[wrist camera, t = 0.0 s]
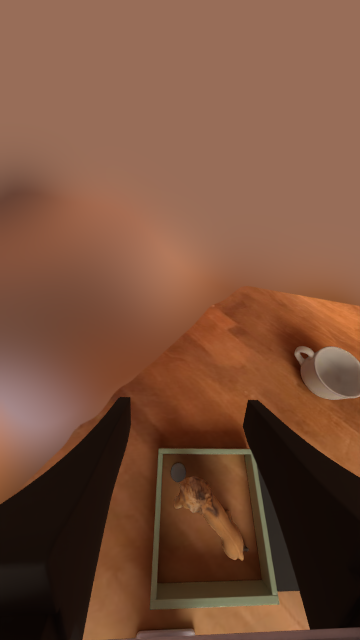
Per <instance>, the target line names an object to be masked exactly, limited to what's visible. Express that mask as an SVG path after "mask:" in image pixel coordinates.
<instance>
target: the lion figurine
mask: <svg viewBox="0 0 360 640" xmlns="http://www.w3.org/2000/svg"><path fill="white" fill-rule="evenodd" d="M179 484H180V489H181V490H180V493H179V495H178V496H176V497H175V499H174V507H175V508H176V509H179V508H181V507H182V506H183V507H184V508H188V509H189V510H191V512H192V513H194V512H197V513H199V514H201V515H203V516H204V518H205V520H206V521H207V523H208V524H209V525H210V526H211V527H212V529H213V530H214V531H215V532H216V533H217V534H218V535H219V536H220V537H221V538H222V547H223V550H224V552H225V553H226V555H227V556H228V557H230V558H231V559H232V560H236V559H237V558H239V559H240V560H242V561H243V560H244V555H243V551H246V552H247V551H248V550H249V549H248V548H247V547H246V546H244V545H243V539H242V536H241V533H240V531H239V529H238V528H237V526H236V525H235V524H234V523H233V521H232V518H231V514H230V512H229V511H228V510H226V511H224V509H223V507H222V505H221V504H220V502H219V501H218V500H217V499H216V498H215V497H214V495H213V493H212V490H211V487H210V485H209V484H208V483H207V482H205V480H204V479H201V478H198V477H196V476H194V477H192V476H191V477H190V478H189V477H187V478H185V479H184V480H182V481H181V482H180V483H179Z"/></svg>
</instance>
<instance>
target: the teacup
mask: <svg viewBox="0 0 360 640" xmlns="http://www.w3.org/2000/svg"><path fill="white" fill-rule="evenodd" d="M300 352H304V353H306V354H307V355H308V356H309V357H307V358H306V359H304V358H303V357H302V356H301V354H300ZM294 354H295V357H296V358H297V360H298V361H299V364H300V365H301V377H302V380H303V382H304V383H305V385H306V386H307V387H308V389H309V390H310V391H312V392H313V393H314V394H316V395H317V396H319V397H322V398H325V399H331V400H336V399H345V398H356V397H359V396H360V362H359V361H358V360H357V359H356V358H355V357H354V356H353V355H352V354H350V353H349V352H347V351H345V350H343V349H341V348H338V347H324V348H322V349H320V350H319V351H318V352H316V353H314V352H313V351H312V350H311V349H310V348H308V347H305V346H300V347H297V348H296V349H295V352H294Z"/></svg>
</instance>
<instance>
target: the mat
mask: <svg viewBox="0 0 360 640" xmlns="http://www.w3.org/2000/svg"><path fill="white" fill-rule="evenodd" d="M257 470H258V476H259V482H260V488H261V494H262V501H263V507H264V513H265V519H266V525H267V531H268V537H269V544H270V550H271V556H272V562H273V568H274V574H275V580H276V587H277V591H299V587H298V583H297V580H296V576H295V573H294V570H293V566H292V563H291V559H290V556H289V553H288V549H287V546H286V543H285V540H284V537H283V533H282V530H281V527H280V524H279V521H278V518H277V515H276V512H275V509H274V506H273V503H272V500H271V497H270V495H269V492H268V490H267V487H266V485H265V482H264V480H263V478H262V475H261V473H260V471H259V468H258V466H257Z"/></svg>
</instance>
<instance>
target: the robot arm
mask: <svg viewBox="0 0 360 640" xmlns="http://www.w3.org/2000/svg"><path fill="white" fill-rule="evenodd" d="M130 426H131V410H130V397H120V398H118V399H117V401H116V402H115V403H114V405H113V406H112V407H111V409H110V410H109V411H108V412H107V413H106V415H105V416H104V417H103V418H102V419H101V420H100V422H99V423H98V424H97V425H96V426H95V427H94V428H93V429H92V430H91V431H90V432H89V433H88V435H87V436H86V437H85V438H84V439H83V440H82V441H81V442H80V443H79V444H78V445H77V446H75V447H74V448H73V449H72V450H71V451H70V452H69V453H68V454H67V455H66V456H64V457H63V458H62V459H61V460H60V461H59V462H57V463H56V464H55V465H54V466H53V467H51V468H50V469H49V470H48V471H46V472H45V473H44V474H43V475H41V476H40V477H39V478H37V479H36V480H35V481H33V482H32V483H31V484H29V485H28V486H26V487H25V488H24V489H22V490H21V491H20V492H18V493H17V494H15V495H14V496H12V497H11V498H9V499H8V500H6V501H5V502H3V503H2V504H0V640H82V639H83V633H84V628H85V623H86V618H87V612H88V607H89V602H90V597H91V592H92V586H93V581H94V576H95V571H96V566H97V562H98V557H99V552H100V547H101V542H102V537H103V533H104V528H105V523H106V519H107V514H108V510H109V505H110V500H111V496H112V493H113V489H114V485H115V482H116V479H117V475H118V472H119V469H120V466H121V462H122V459H123V456H124V452H125V449H126V446H127V442H128V437H129V432H130ZM243 429H244V432H245V436H246V439H247V442H248V445H249V447H250V450H251V452H252V454H253V457H254V459H255V462H256V464H257V466H258V468H259V471H260V473H261V475H262V478H263V480H264V482H265V485H266V487H267V490H268V492H269V495H270V497H271V500H272V503H273V506H274V509H275V512H276V515H277V518H278V521H279V524H280V527H281V530H282V533H283V537H284V540H285V543H286V546H287V549H288V553H289V556H290V559H291V563H292V566H293V570H294V573H295V576H296V580H297V583H298V587H299V591H300V594H301V598H302V601H303V605H304V609H305V612H306V616H307V620H308V624H309V627H310V630H296V631H275V632H254V633H234V634H213V635H195V632H194V630H193V629H173V630H151V631H139V632H138V633H137V635H136V638H130V639H110V640H360V477H358V476H356V475H355V474H353V473H351V472H350V471H348V470H347V469H345V468H343V467H342V466H340V465H339V464H337V463H336V462H334V461H333V460H331V459H330V458H328V457H327V456H325V455H324V454H323V453H321V452H320V451H318V450H317V449H315V448H314V447H313V446H311V445H310V444H309V443H307V442H306V441H305V440H304V439H302V438H301V437H300V436H299V435H297V434H296V433H295V432H294V431H292V430H291V429H290V428H289V427H288V426H287V425H285V424H284V423H283V422H282V421H281V420H280V419H279V418H277V417H276V416H275V415H274V414H273V413H272V412H271V411H270V410H268V409H267V408H266V407H265V406H264V405H263V404H262V403H260V402H259V401H258V400H248V403H247V408H246V413H245V418H244V423H243Z"/></svg>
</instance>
